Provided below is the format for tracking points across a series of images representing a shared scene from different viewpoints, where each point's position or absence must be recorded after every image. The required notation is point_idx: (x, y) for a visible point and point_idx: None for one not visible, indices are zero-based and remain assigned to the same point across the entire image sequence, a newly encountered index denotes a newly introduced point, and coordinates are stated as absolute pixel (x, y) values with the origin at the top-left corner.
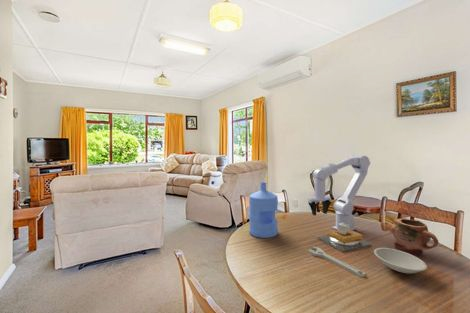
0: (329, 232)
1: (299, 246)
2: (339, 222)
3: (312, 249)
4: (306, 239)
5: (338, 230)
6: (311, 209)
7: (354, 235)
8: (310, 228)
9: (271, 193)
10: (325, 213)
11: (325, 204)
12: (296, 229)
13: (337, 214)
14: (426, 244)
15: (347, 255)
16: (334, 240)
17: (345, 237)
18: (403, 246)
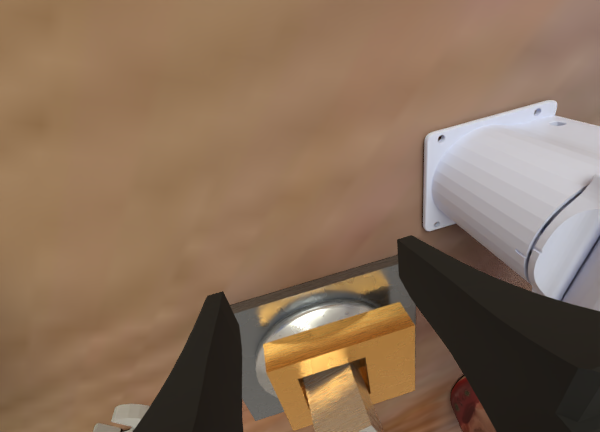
0: (266, 370)
1: (49, 391)
2: (469, 227)
3: (120, 411)
4: (116, 320)
5: (311, 407)
6: (179, 366)
7: (371, 399)
8: (223, 125)
9: None
10: (400, 276)
11: (499, 389)
12: (55, 133)
13: (527, 251)
14: None
15: (259, 423)
16: (263, 382)
17: (308, 420)
18: (465, 425)
